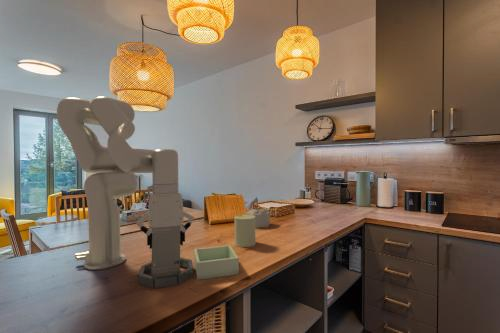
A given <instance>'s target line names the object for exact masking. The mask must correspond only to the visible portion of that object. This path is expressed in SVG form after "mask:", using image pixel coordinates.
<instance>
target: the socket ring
mask: <svg viewBox="0 0 500 333" xmlns="http://www.w3.org/2000/svg"><path fill="white" fill-rule="evenodd" d="M151 265H152V261H150V262H148V263H145V264H143V265H141V266H140V269H139V272H138V274H137V275H138V284H139V285H143V286H145V287H148V288H151V289H161V288H165V287H166V288H167V287H173V286H178V285H180V284H182V283H184V282H185V281H187V280H189V279H190V278H192V277H193V276H194V263H193V260H192V259H189V258H185V257H181V256H180V268H183V269H184V270H182V271H180V273H178V274H176V275H170V276H163V277H153V276H151V274H150V275H149V273H151Z"/></svg>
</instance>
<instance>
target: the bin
mask: <svg viewBox="0 0 500 333" xmlns="http://www.w3.org/2000/svg"><path fill="white" fill-rule="evenodd" d="M193 249H194V250H193V256H194V257H193V258H194V259H193V260H194V262H193V266H194V269H195V274H196V280H197V281H201V280H206V279H213V278H220V277H226V276H227V277H228V276H234V275H239V274H240V268H239V267H240V266H239V265H240V264H239V256H238V255H237V253H236V252H235V250H234V249H233V247H232V246H231V244H227V245H220V246H211V247H210V246H209V247H203V248H193Z"/></svg>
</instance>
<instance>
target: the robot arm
mask: <svg viewBox="0 0 500 333" xmlns="http://www.w3.org/2000/svg"><path fill="white" fill-rule="evenodd" d="M56 119H57V122H58V125H59V128H60V129H61V132H63V134H64V135H65V137H66V138H67V140H68V141H69V143H70V146H71V148H72V151H73V153H74V156H75V158H76V160H77V162H78V164H79V166H80V169H81V170H82V171H84V172H85V173H91V175H89V176H88V177H86V179H85V180H84V183H83V191H84V193H85V194H84V195H85V197H86V198H85V199H86V204H87V214H88V215H87V218H88V219H87V220H88V251H86V252H76V253H75V256H74V259H75V260H76V261H78V262H79V261H84V262H83V268H85V269H87V270H91V271H92V270H93V271H95V270H97V271H98V270H104V269H110V268H112V267H116V266H119V265H120V264H122V263H124V262H125V261H126V254H124V253H121V252H122V251H121V250H122V249H121V248H122V247H121V210H120V208H119V206H118V204H117V203H116V201H115V199H118V198H125V197H130V196H132V195H133V194H135V192H136V191H137V188H138V181H137V177H136V174H150V173H152V175H151V176H152V184H151V185H149V186H147V192H152V194H150V195H149V199H148V210H147V211H148V212H147V214H145V215H144V216H142V217H141V218H139V219H138V220H137V221H135V222H136V225H137V227H138V228H139V229H140V231H141V232H142V233H144V234H145V235H146V242H147V244H146V245H147V246H149V250H152V228H160V227H172V226H180V246H184V242H186V231H187V230H188V229H189V228H190V227H191V225H192V224H193V222H194V221H195V217H194V215H191V214H189V213H187V212H186V211H184V203H183V197H182V193H181V192H179V153H178V151H177V150H175V149H173V148H172V149H171V148H167V149H166V148H163V149H162V148H160V149H145V148H133V147H131V145H130V144H129V143H128V142H127V140H129V139H130V138H132V136H133V135H134V134H135V131H136V127H135V124H134V120H135V110H134V108H133V106H132V105H131V104H130V103H128V102H126V101H122V100H120V99H115V98H112V97H108V96H98V97H95V98H93V99H92V100H89V99H85V98H84V99H83V98H78V97H66V98H65V97H64V98H63V99H62V100H60V101H59V103H58V104H57V107H56ZM86 124H87V125H88V124H89V125H93V126H94V125H95V126H101V127H102V129H103V130H104V131H105V133H106V134H107V135H108V139H107V147H106V146H104V145H102V144H101V143H100V141H99V139H98V136H97V135H96V133H95V132H94V131H93V130H92V129H91V128H89V126H87V125H86ZM184 218H186V219H187V222H186V223H185V224H184ZM146 221H147V224H148V227H147V226H145V225H144V222H146Z"/></svg>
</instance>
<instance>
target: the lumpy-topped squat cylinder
mask: <svg viewBox="0 0 500 333" xmlns="http://www.w3.org/2000/svg"><path fill="white" fill-rule="evenodd" d="M270 212H271V211H269V210H267V209H263V208H260V209H257V208H253V209H251V210H248V211H247V212H246V213H245V215H253V216H255V229H261V228H260V227H263V228H267V227H270V225H271V223H270V222H271V221H270V220H271V218H270V217H271V216H270V215H271V213H270Z"/></svg>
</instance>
